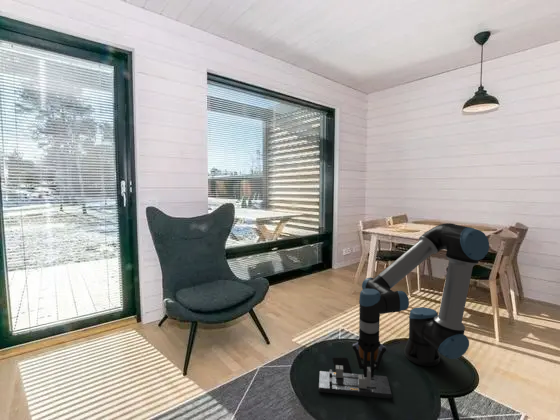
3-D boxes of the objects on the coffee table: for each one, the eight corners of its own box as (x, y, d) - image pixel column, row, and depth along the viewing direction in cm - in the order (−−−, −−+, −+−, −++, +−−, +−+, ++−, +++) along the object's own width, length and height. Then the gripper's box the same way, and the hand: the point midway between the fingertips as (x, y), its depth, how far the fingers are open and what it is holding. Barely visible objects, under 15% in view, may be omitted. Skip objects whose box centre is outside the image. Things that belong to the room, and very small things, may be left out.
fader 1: (342, 374, 130) (342, 365, 129) (343, 378, 127) (343, 369, 127) (335, 373, 130) (335, 364, 130) (335, 377, 128) (335, 368, 127)
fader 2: (366, 384, 123) (366, 375, 123) (366, 388, 121) (366, 379, 120) (358, 383, 124) (358, 374, 123) (358, 388, 122) (359, 378, 121)
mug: (372, 345, 154) (372, 329, 152) (380, 361, 142) (381, 343, 140) (354, 346, 153) (355, 329, 152) (361, 361, 141) (362, 343, 140)
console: (386, 380, 128) (387, 372, 128) (391, 398, 119) (391, 389, 118) (319, 375, 133) (319, 366, 132) (319, 391, 123) (318, 382, 123)
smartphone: (337, 380, 129) (331, 357, 144) (337, 381, 130) (331, 359, 144) (354, 379, 129) (347, 357, 144) (354, 381, 129) (347, 358, 144)
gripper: (384, 325, 121) (383, 379, 124) (351, 323, 123) (351, 376, 127) (388, 335, 114) (387, 392, 117) (352, 333, 116) (352, 389, 119)
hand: (368, 384), depth 122 cm, fingers closed
